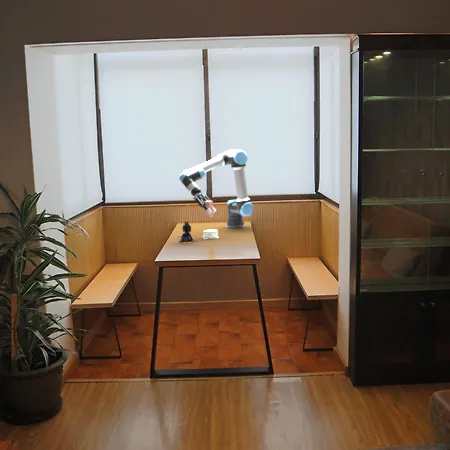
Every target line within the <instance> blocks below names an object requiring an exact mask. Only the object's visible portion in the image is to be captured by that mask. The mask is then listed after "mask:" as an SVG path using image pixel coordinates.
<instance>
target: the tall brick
mask: <svg viewBox="0 0 450 450" xmlns="http://www.w3.org/2000/svg"><path fill="white" fill-rule="evenodd" d="M203 202H204V203H205V206H206V205H207V206H208V208H209V209H210V210H211V211H212V212H211V213H210V214H209V213H208V212H207V211H206V210H205V209H204V208H203V218H209V219H210V218H214V217H215V215H214V214H215V213H213V207H214V201H213V200H211V201H203Z"/></svg>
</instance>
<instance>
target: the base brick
mask: <svg viewBox="0 0 450 450" xmlns="http://www.w3.org/2000/svg"><path fill="white" fill-rule="evenodd" d="M215 237H219V231H218V229H206V230H203V231H202V238H203V239H204V238H212V239H216V238H215Z"/></svg>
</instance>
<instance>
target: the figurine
mask: <svg viewBox="0 0 450 450" xmlns="http://www.w3.org/2000/svg"><path fill="white" fill-rule="evenodd" d="M183 223H184V224H183V225H182V231H183V233H182V235H181V236H177V238H180V240H179V243H181V242H182V241H185V242H186V241H187V242H189V241H191V240H192V241H194V239H193V237H192V235H191V232H192V226H191V224H190V222H189V221H185V222H183Z"/></svg>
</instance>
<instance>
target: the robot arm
mask: <svg viewBox="0 0 450 450" xmlns="http://www.w3.org/2000/svg"><path fill="white" fill-rule="evenodd" d="M247 162H248V154H247V153H246V152H245V151H244V150H242V149H229V150H227V151H224V152H222V153H220V154H218V155H217V156H216V157H214V158H212V159H210V160H208V161H205V162H203V163H201V164H198V165H196V166H193V167H191V168H188V169H185V170H183V172H182V173H181V174H180V175H179V181H180V182H181V184H183V186H184V187H185V188H186V189H187V190H188V192H189V193H190V194H191V196H192V198H193V200H194V201H195V202H196V203H197V204H198V205H199V207H200V208H202V209H203V210H204V209H205V210H206V211H207V212H208V213H209V214H210V213H211V212H212V211H211V210H210V209H209V208H208V206H207V205H206V206H205V203H204V202H203V201H212V200H211V199H210V198H209V196H207V194H206V193H203V192H202V190H201V188H200V187H199V186H198V185H197V183H196V182H197V181H200V180H201V179H203V178H205V177H206V173H207V172H209V171H212V170H214V169H216V168H219V167H224V166H226V165H230V168H231V169H232V170H233V175H234V182H235V184H234V185H235V190H236V197H237V198H236V199H230V200H228V201H227V216H228V217H227V220H226V221H227V222H226V228H228V229H240V228H245V222H244V220H243V217H250V216H251V215H252V213H253V212H254V209H255V208H254V204H253V203H252V202H251V198H249V197H248V189H247V180H246V172H245V167H246V165H247V164H246V163H247ZM216 211H217V209H216V208H215V207H214V206H213V214H215V213H216Z"/></svg>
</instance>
